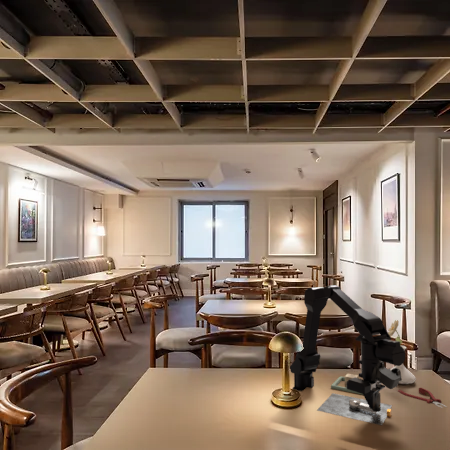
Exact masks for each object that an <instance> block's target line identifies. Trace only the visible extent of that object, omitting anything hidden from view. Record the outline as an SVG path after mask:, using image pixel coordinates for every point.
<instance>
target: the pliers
mask: <svg viewBox="0 0 450 450" xmlns="http://www.w3.org/2000/svg"><path fill="white" fill-rule="evenodd" d="M397 392H398V393H399V394H401V395H403V396H404V397H405V396H406V397H409V398H412V399H416V400H419V401H422V402H423V401H424V402H426V404H434V405H435V406H436V407H439V408H442V409H444V407H445V408H448V406H446V405H445V404H443V403H442V400H441V399H440V398H436V397H435V396H434V394H433V393H432V392H431V391H430V390H428V389H426V388H423V387H418V393H419V394H421V395H423V396H425V397H427V398H425V397H421V396H417V395H413V394H410V393H407V392H405V391H403V390H402V389H397ZM428 398H429V399H428Z"/></svg>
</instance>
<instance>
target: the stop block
mask: <svg viewBox="0 0 450 450" xmlns="http://www.w3.org/2000/svg"><path fill="white" fill-rule="evenodd" d="M344 377H345V381H344V387H346V382H347V381H348V380H349V379H352V378H355V377H356V378H359V374H353V373H346V375H344Z"/></svg>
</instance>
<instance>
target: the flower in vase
mask: <svg viewBox="0 0 450 450" xmlns="http://www.w3.org/2000/svg"><path fill="white" fill-rule="evenodd" d="M399 324H400V321H399V319H395V320H394V321H393V322H391V326H390V328H388V331H387V332H388V334H389V336H390V337H391V338H392V336H393V335H394V334H395V333H396V334H397V336H396V338H395V341H399V342H400V346H401V347H402V348H403V349H404V352H406V351H405V350H406V349H407V346H405V345H401V344H403V340H402V339H401V337H400V334H399V331H398V330H397V329H398V326H399ZM394 368H398V369H399V370H400V372H401V378H402V380H401V381H399V383H398V385H409V384H414V383H415V382H416V380H417V377H416V376H415V375H414V374H413V373H412V372H411V371H410V370H409V369H408V368H406V366H405V365H404V363H403V364H402V365H400V366H396V365H394V366H393V367H391V368H390V369H391V370H392V369H394Z"/></svg>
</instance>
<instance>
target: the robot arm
mask: <svg viewBox="0 0 450 450" xmlns="http://www.w3.org/2000/svg"><path fill="white" fill-rule="evenodd" d="M303 297H304V301H303V302H304V305H305V307H306V311H307V312H306V318H305V324H304V331H303V332H304V333H303V339H302V344H303V347H304V349H303V350H302V351H301V352H298V351H297V353H296V356H295V359H294V361H293V362H292V364H290V365H289V369H290V372H291V373H292V374H293V377H294V378H293V380H294V383H293V385H294V386H293V387H292V390H293V389H294V390H295V391H298V392H303V391H304V390H306V389H307V388H310V389H312V388H313V387H314V386H315V377H314V375H313V373H316V371H317V368H318V366H319V365H320V359H321V354H320V353H318V351H317V342H318V334H319V327H320V322H321V321H320V320H321V314H322V312H323V310H324V309H325V307H326V306H327V304H328V300H329V299H330V300H331V301H332V302H333V303H334V304H335V305H336V306H337V307H338V308H340V310H341V311H342V312H343V313H344V314H345V315H346V316H348V317H349V318H350V320H352V324H353V327H354V328H355V330H356V331H357V332H358V334H359V335H358V336H357V337H355V341H357V342H360V352H361V355H360V359H359V360H358V364H359V365H360V366H361V369H360V370H361V372H359V373H358V378H356V377H355V378H352V379H349V380H348V381H347V382H346V388H347V389H349V390H352V391H355V392H358V393H361V394H360V395H362V394H363V395H362V396H363V397H364V400H366V401H367V403H368V405H369V407H370V409H374V407H375V403H376V400H377V396H378V394H379V393H380V391H382V390H383V389H384V388H387V389H389V390H394V388H397V387H398V385H399V381H401V380H402V378H401V372H400V370H399V369H398V368H394V369H392V368H386V366H385V363H387V364H390V365H393V366H400V365H402V364H403V365H404V362H405V359H406V351H404V349H403V348H402V347H401V346H402V345H401V346H400V342H399V341H396V340H393V339H392V336H391V337H390V336H389V334H388V332H389V331H387V328H386V327H385V325H384V321H383V320H382V318H380V317H379V316H377V315H376V314H374V313H373V312H371V311H368V310H366V309H364V308H362V307H361V306H359V305H358V303H356V302H355V301H354V300H353V299H352V298H351V297H350V296H349V295H348V294H346V293H345V292H344V291H343V290H342V288H341V287H340V286H339V285H327V286H324V287H323V286H316V287H315V286H314V287H308V288H306V289H305V291H304V295H303ZM391 369H392V370H391Z"/></svg>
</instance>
